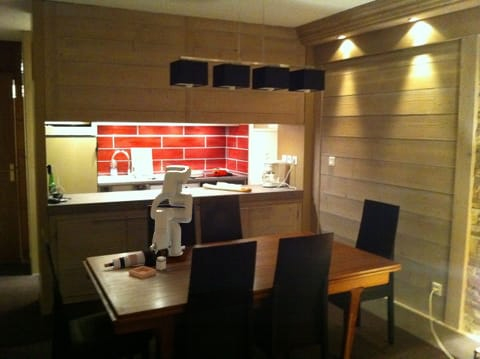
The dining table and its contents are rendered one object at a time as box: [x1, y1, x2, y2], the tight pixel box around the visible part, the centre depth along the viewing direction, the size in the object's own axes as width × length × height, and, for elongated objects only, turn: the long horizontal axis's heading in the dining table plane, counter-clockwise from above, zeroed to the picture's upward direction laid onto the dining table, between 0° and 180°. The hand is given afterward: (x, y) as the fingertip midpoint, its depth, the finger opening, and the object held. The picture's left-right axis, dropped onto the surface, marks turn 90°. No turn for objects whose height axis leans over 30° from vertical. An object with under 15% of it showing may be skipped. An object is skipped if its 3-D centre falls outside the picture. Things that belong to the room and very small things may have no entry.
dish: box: [128, 265, 157, 280], centre depth 263 cm, size 11×11×3 cm
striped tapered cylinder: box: [103, 248, 162, 270], centre depth 276 cm, size 10×34×10 cm, turn 115°
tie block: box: [155, 255, 167, 271], centre depth 274 cm, size 4×4×7 cm
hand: (160, 258), depth 272 cm, fingers open, 9 cm apart
